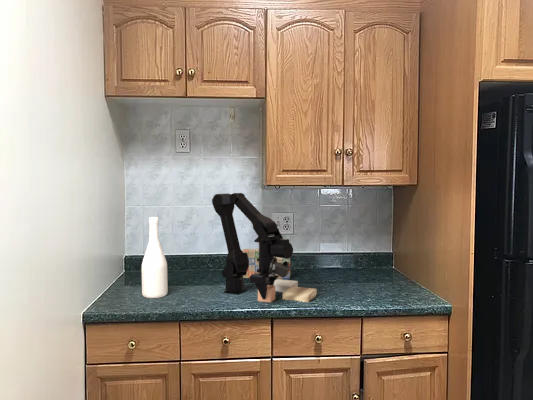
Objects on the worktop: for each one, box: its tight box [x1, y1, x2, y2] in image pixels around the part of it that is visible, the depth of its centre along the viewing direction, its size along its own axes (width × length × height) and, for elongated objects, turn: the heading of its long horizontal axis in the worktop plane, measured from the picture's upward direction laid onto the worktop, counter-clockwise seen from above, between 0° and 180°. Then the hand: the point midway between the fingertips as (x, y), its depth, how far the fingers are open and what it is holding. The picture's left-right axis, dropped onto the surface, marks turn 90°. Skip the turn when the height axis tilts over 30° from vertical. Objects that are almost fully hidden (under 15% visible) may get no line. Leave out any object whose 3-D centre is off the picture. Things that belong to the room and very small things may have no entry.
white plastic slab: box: [274, 279, 299, 293], centre depth 184 cm, size 9×9×3 cm
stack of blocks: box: [241, 248, 291, 280], centre depth 205 cm, size 21×6×12 cm, turn 82°
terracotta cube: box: [257, 285, 276, 303], centre depth 168 cm, size 5×5×5 cm
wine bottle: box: [141, 216, 168, 299], centre depth 174 cm, size 10×10×30 cm
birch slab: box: [282, 286, 318, 303], centre depth 172 cm, size 10×10×3 cm
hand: (266, 297), depth 168 cm, fingers closed on terracotta cube, 5 cm apart
